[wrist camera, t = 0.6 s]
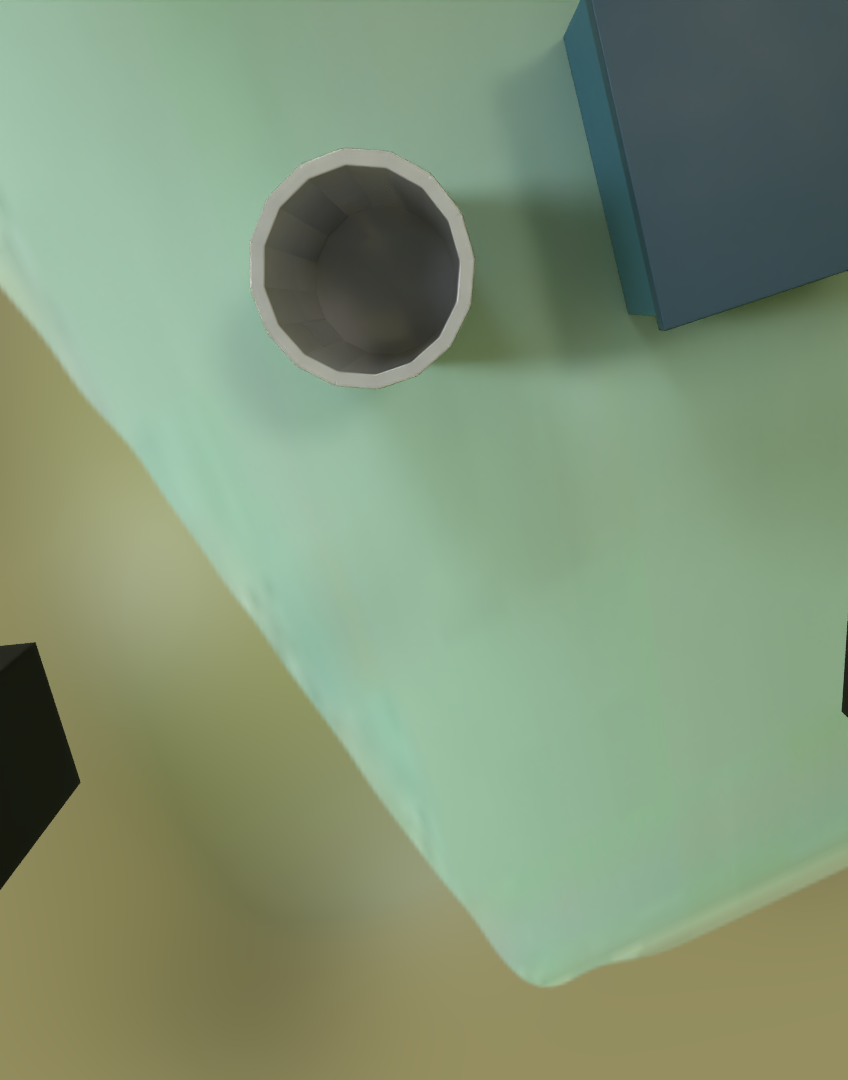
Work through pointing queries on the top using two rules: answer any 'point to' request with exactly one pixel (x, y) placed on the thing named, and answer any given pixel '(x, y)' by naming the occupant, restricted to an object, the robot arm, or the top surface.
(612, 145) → the container
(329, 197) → the cup
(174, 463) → the top surface
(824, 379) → the top surface
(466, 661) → the top surface
